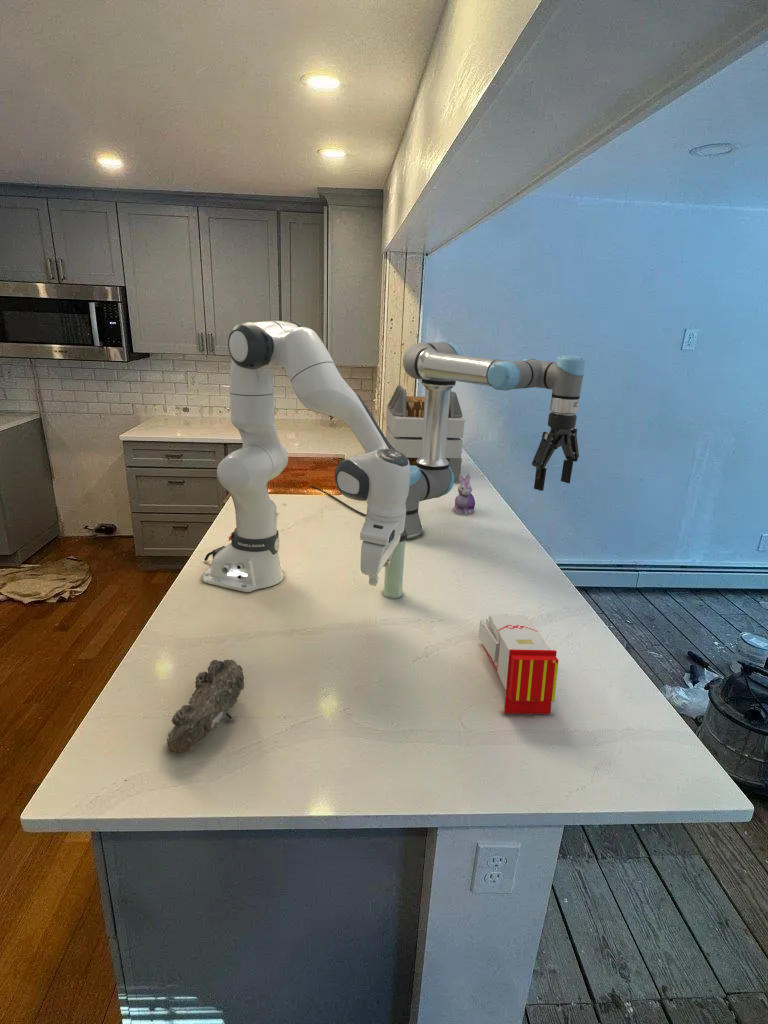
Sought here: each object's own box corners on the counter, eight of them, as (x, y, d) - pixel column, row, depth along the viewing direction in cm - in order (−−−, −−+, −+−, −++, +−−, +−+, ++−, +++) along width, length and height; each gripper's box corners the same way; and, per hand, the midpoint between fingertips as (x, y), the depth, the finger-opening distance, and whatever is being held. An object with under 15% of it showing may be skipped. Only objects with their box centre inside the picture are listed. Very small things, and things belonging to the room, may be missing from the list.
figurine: (461, 516, 219) (465, 479, 214) (447, 508, 227) (450, 472, 222) (481, 513, 223) (485, 477, 218) (466, 505, 231) (469, 470, 226)
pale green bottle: (387, 588, 161) (390, 529, 155) (404, 591, 159) (407, 532, 153) (381, 595, 156) (384, 535, 150) (398, 599, 155) (402, 538, 149)
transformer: (382, 463, 289) (386, 382, 275) (445, 464, 293) (451, 384, 279) (390, 482, 257) (394, 392, 243) (460, 483, 261) (468, 394, 247)
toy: (524, 600, 137) (567, 656, 108) (520, 651, 140) (560, 720, 111) (474, 599, 137) (504, 655, 107) (471, 650, 140) (498, 719, 110)
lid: (389, 532, 156) (389, 526, 155) (409, 535, 154) (409, 530, 153) (382, 540, 150) (382, 534, 150) (403, 543, 149) (403, 537, 148)
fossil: (192, 660, 117) (244, 628, 112) (224, 691, 120) (276, 661, 115) (142, 746, 98) (202, 712, 93) (182, 779, 101) (242, 748, 96)
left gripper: (385, 502, 138) (379, 552, 143) (357, 536, 120) (352, 592, 125) (410, 507, 136) (403, 558, 142) (385, 542, 118) (379, 598, 124)
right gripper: (548, 419, 148) (537, 496, 155) (598, 411, 163) (586, 482, 171) (525, 414, 153) (515, 489, 160) (575, 407, 169) (564, 476, 176)
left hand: (379, 574), depth 133 cm, fingers open, 8 cm apart
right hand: (552, 485), depth 166 cm, fingers open, 13 cm apart
